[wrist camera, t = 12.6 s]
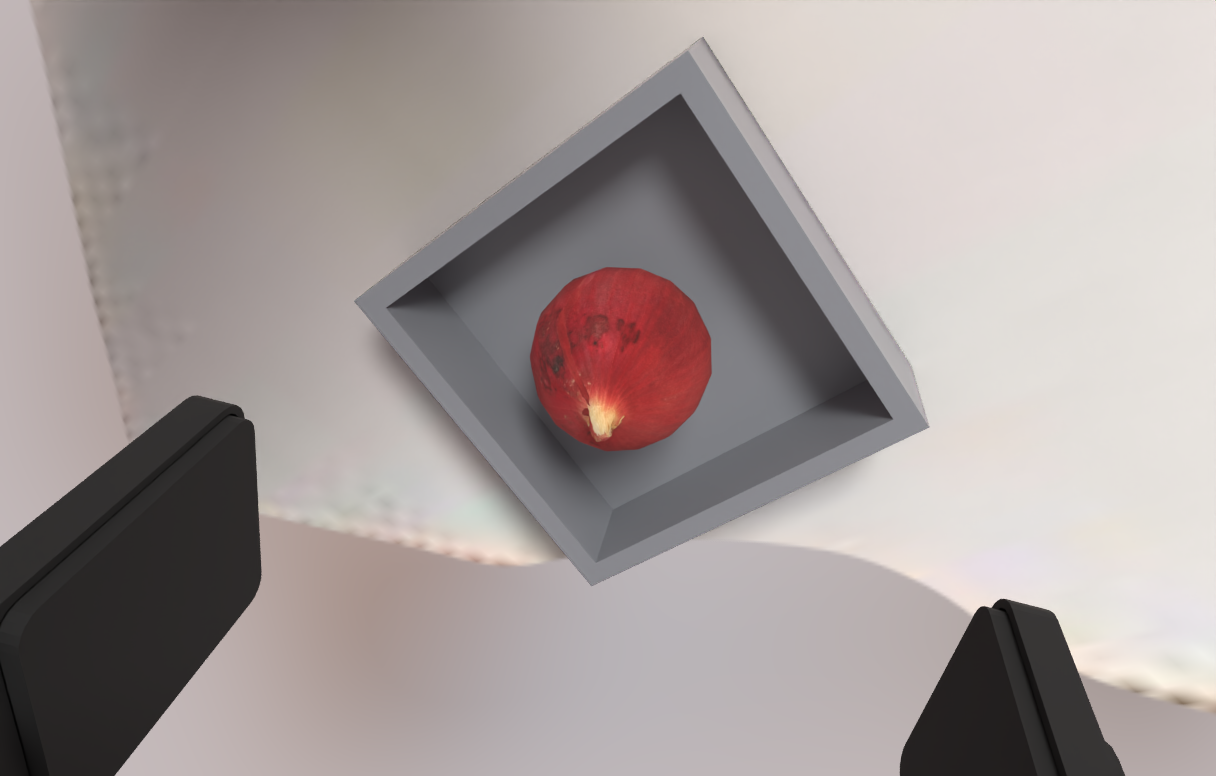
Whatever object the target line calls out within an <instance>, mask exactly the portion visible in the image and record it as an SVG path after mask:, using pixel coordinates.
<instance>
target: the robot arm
mask: <svg viewBox="0 0 1216 776" xmlns="http://www.w3.org/2000/svg"><path fill="white" fill-rule="evenodd" d="M260 581H261V555H260V533H259V512H258V492H257V471H256V450H255V431H254V425H253V423H252V422H251V421H249V420H247V419H245V418H244V413H243V411H242V409H241V408H240V407H238V406H237V405H233V404H229V403H225V402H221V401H217V400H213V399H209V398H205V397H202V396H191V397H189V398H188V399H186V400H184V401H183V402H182V403H181V404H179V405H178V406H177V407H176V408H174V409H173V410H172V411H171V412H169V413H168V414H167V415H166V416H164V417H163V418H162V419H161V420H159V421H158V422H157V423H155V424H154V425H153V426H152V427H150V428H149V429H148V430H147V431H145V432H144V433H143V434H142V435H140V436H139V437H138V438H137V439H135V440H134V441H133V442H132V443H130V444H129V445H128V446H127V447H125V448H124V449H123V450H122V451H120V452H119V453H118V454H116V455H115V456H114V457H113V458H112V459H110V460H109V461H108V462H106V463H105V464H104V465H103V466H101V467H100V468H99V469H98V470H96V471H95V472H94V473H93V474H91V475H90V476H89V477H87V478H86V479H85V480H84V481H83V482H81V483H80V484H79V485H77V486H76V487H75V488H74V489H72V490H71V491H70V492H69V493H67V494H66V495H65V496H64V497H62V498H61V499H60V500H59V501H57V502H56V503H55V504H54V505H52V506H51V507H50V508H49V509H47V510H46V511H45V512H43V513H42V514H41V515H40V516H38V517H37V518H36V519H35V520H33V521H32V522H31V523H30V524H28V525H27V526H26V527H25V528H23V529H22V530H21V531H19V532H18V533H17V534H16V535H14V536H13V537H12V538H11V539H9V540H8V541H7V542H6V543H4V544H3V545H2V546H1V547H0V776H115V774H116V773H117V772H118V771H119V769H120V768H121V767H122V766H123V764H124V763H125V762H126V760H127V759H128V758H129V757H130V755H131V754H132V753H133V752H134V750H135V749H136V748H137V746H138V745H139V744H140V742H141V741H142V740H143V739H144V738H145V736H146V735H147V734H148V732H149V731H150V730H151V729H152V727H153V726H154V725H155V724H156V722H157V721H158V720H159V718H160V717H161V716H162V714H163V713H164V712H165V711H166V710H167V708H168V707H169V706H170V705H171V703H172V702H173V701H174V699H175V698H176V697H177V696H178V694H179V693H180V692H181V691H182V689H183V688H184V687H185V686H186V684H187V683H188V682H189V680H190V679H191V678H192V677H193V675H194V674H195V673H196V671H197V670H198V669H199V668H200V666H201V665H202V664H203V662H204V661H205V660H206V659H207V658H208V656H209V655H210V653H211V652H212V651H213V650H214V649H215V647H216V646H217V645H218V644H219V642H220V641H221V640H222V639H223V637H224V636H225V635H226V633H227V632H228V631H229V630H230V628H231V627H232V626H233V625H234V623H235V622H236V621H237V619H238V618H239V617H240V616H241V614H242V613H243V612H244V610H245V609H246V608H247V607H248V606H249V604H250V603H251V602H252V600H253V598H254V597H255V595H256V592H257V590H258V588H259V585H260ZM900 776H1125V774H1124V772H1123V770H1122V766H1121V764H1120V761H1119V759H1118V757H1117V756H1116V754H1115V752H1114V750H1113V748H1112V747H1111V746H1110V745H1109V744H1108V743H1107V742H1105V740H1104V738H1103V735H1102V733H1101V730H1100V728H1099V725H1098V722H1097V720H1096V717H1095V715H1094V712H1093V710H1092V707H1091V704H1090V702H1089V699H1088V697H1087V694H1086V692H1085V689H1084V686H1083V684H1082V681H1081V679H1080V676H1079V673H1078V671H1077V668H1076V666H1075V663H1074V661H1073V658H1072V655H1071V653H1070V650H1069V648H1068V645H1067V642H1066V640H1065V637H1064V635H1063V632H1062V630H1061V627H1060V624H1059V622H1058V620H1057V618H1056V616H1055V614H1054V613H1053V612H1051V611H1050V610H1047V609H1043V608H1039V607H1035V606H1031V605H1027V604H1023V603H1019V602H1015V601H1011V600H1007V599H1000V600H998V601H997V602H996V603H995V604H994V605H993V607H992V608H989V607H985V606H982V607H980V608H979V609H978V610H977V611H976V613H975V614H974V616H973V618H972V620H971V622H970V624H969V626H968V628H967V629H966V631H965V633H964V635H963V637H962V639H961V641H960V642H959V645H958V646H957V648H956V650H955V652H954V654H953V656H952V658H951V660H950V661H949V663H948V665H947V667H946V669H945V671H944V673H943V675H942V676H941V678H940V680H939V682H938V684H937V686H936V688H935V690H934V691H933V693H932V695H931V697H930V699H929V701H928V703H927V705H926V706H925V709H924V710H923V712H922V714H921V716H920V718H919V720H918V722H917V723H916V725H915V727H914V729H913V731H912V733H911V735H910V737H909V739H908V740H907V742H906V744H905V746H904V749H903V752H902V756H901V762H900Z"/></svg>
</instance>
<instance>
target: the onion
mask: <svg viewBox="0 0 1216 776" xmlns="http://www.w3.org/2000/svg"><path fill="white" fill-rule="evenodd" d="M530 362H531V368H532V373H533V377H534V382H535V386H536V391H537V395H538V397H539V399H540V401H541V403H542V405H543V406H544V408H545V409H546V411H547V412H548V414H549V415H550V417H551V418H552V420H553V421H554V423H555V424H556V425H557V426H558V427H560V428H561V429H562V430H564V431H565V432H566V433H568V434H569V435H571V436H572V437H573V438H575V439H576V440H578V441H579V442H582V443H584V444H587V445H590V446H593V447H595V448H598V449H601V450H604V451H621V450H638V449H641V448H643V447H646V446H648V445H651V444H653V443H655V442H658V441H660V440H663V439H665V438H667V437H669V436H670V435H672V434H673V433H674V432H675V431H676V430H677V429H678V428H679V427H680V426H681V425H682V424H683V423H684V422H685V421H686V420H687V419H688V418H689V417H690V416H691V415H692V414H693V413H694V412H695V410H696V408H697V407H698V405H699V403H700V401H701V398H702V396H703V394H704V391H705V389H706V386H707V384H708V382H709V379H710V377H711V374H712V362H711V337H710V335H709V332H708V330H707V328H706V326H705V324H704V322H703V320H702V318H701V316H700V314H699V312H698V309H697V307H696V305H695V303H694V302H693V301H692V300H691V299H690V298H689V297H688V296H687V295H686V294H685V293H683V292H682V291H681V290H680V289H679V288H678V287H677V286H676V285H675V284H674V283H673V282H671V281H670V280H668V279H665V278H663V277H660V276H658V275H655V274H653V273H651V272H648V271H646V270H643V269H641V268H617V267H605V268H602V269H600V270H597V271H594V272H591V273H589V274H586V275H583V276H581V277H578V278H575V279H573V280H572V281H571V282H569V283H568V284H567V285H565V286H564V287H563V288H562V290H561V291H560V292H559V293H558V294H557V295H556V296H555V298H554V299H553V300H552V301H551V302H550V303H549V304H548V305H547V307H546V308H545V309H544V310H543V311H542V312H541V314H540V317H539V320H538V322H537V325H536V330H535V334H534V339H533V344H532V348H531V353H530Z"/></svg>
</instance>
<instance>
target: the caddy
mask: <svg viewBox="0 0 1216 776" xmlns="http://www.w3.org/2000/svg"><path fill="white" fill-rule="evenodd" d="M605 267H617V268H641V269H643V270H646V271H648V272H651V273H653V274H655V275H658V276H660V277H663V278H665V279H668V280H670V281H671V282H673V283H674V284H675V285H676V286H677V287H678V288H679V289H680V290H681V291H682V292H683V293H685V294H686V295H687V296H688V297H689V298H690V299H691V300H692V301H693V302H694V303H695V305H696V307H697V309H698V312H699V314H700V316H701V318H702V320H703V322H704V324H705V326H706V328H707V330H708V332H709V335H710V337H711V362H712V374H711V377H710V379H709V382H708V384H707V386H706V389H705V391H704V394H703V396H702V398H701V401H700V403H699V405H698V407H697V408H696V410H695V412H694V413H693V414H692V415H691V416H690V417H689V418H688V419H687V420H686V421H685V422H684V423H683V424H682V425H681V426H680V427H679V428H678V429H677V430H676V431H675V432H674V433H673V434H672V435H670V436H669V437H667V438H665V439H663V440H660V441H658V442H655V443H653V444H651V445H648V446H646V447H643V448H641V449H638V450H621V451H604V450H601V449H598V448H595V447H593V446H590V445H587V444H584V443H582V442H579V441H578V440H576V439H575V438H573V437H572V436H571V435H569V434H568V433H566V432H565V431H564V430H562V429H561V428H560V427H558V426H557V425H556V424H555V423H554V421H553V420H552V418H551V417H550V415H549V414H548V412H547V411H546V409H545V408H544V406H543V405H542V403H541V401H540V399H539V397H538V395H537V391H536V386H535V382H534V377H533V373H532V368H531V362H530V353H531V348H532V344H533V339H534V334H535V330H536V325H537V322H538V320H539V317H540V314H541V312H542V311H543V310H544V309H545V308H546V307H547V305H548V304H549V303H550V302H551V301H552V300H553V299H554V298H555V296H556V295H557V294H558V293H559V292H560V291H561V290H562V288H563V287H564V286H565V285H567V284H568V283H569V282H571V281H572V280H573V279H575V278H578V277H581V276H583V275H586V274H589V273H591V272H594V271H597V270H600V269H602V268H605ZM354 302H355V303H356V304H357V305H358V306H359V308H360V309H361V310H362V311H363V312H364V314H365V315H366V316H367V317H368V318H369V320H370V321H371V322H372V323H373V324H374V326H375V327H376V328H377V329H378V330H379V332H380V333H381V334H382V335H383V336H384V338H385V339H386V340H387V341H388V342H389V344H390V345H391V346H392V347H393V348H394V350H395V351H396V352H397V353H398V354H399V356H400V357H401V358H402V359H403V360H404V362H405V363H406V364H407V365H408V366H409V368H410V369H411V370H412V371H413V372H414V374H415V375H416V376H417V377H418V378H419V380H420V381H421V382H422V383H423V384H424V386H425V387H426V388H427V389H428V390H429V392H430V393H431V394H432V395H433V396H434V398H435V399H436V400H437V401H438V402H439V404H440V405H441V406H442V407H443V408H444V410H445V411H446V412H447V413H448V414H449V416H450V417H451V418H452V419H453V420H454V422H455V423H456V424H457V425H458V426H459V428H460V429H461V430H462V431H463V432H464V434H465V435H466V436H467V437H468V438H469V440H470V441H471V442H472V443H473V444H474V446H475V447H476V448H477V449H478V450H479V452H480V453H481V454H482V455H483V456H484V458H485V459H486V460H487V461H488V462H489V464H490V465H491V466H492V467H493V468H494V470H495V471H496V472H497V473H498V474H499V476H500V477H501V478H502V479H503V480H504V482H505V483H506V484H507V485H508V486H509V488H510V489H511V490H512V491H513V492H514V494H515V495H516V496H517V497H518V498H519V500H520V501H521V502H522V503H523V504H524V506H525V507H526V508H527V509H528V510H529V512H530V513H531V514H532V515H533V516H534V518H535V519H536V520H537V521H538V522H539V524H540V525H541V526H542V527H543V528H544V530H545V531H546V532H547V533H548V534H549V536H550V537H551V538H552V539H553V540H554V542H555V543H556V544H557V545H558V546H559V548H560V549H561V550H562V551H563V552H564V554H565V555H566V556H567V557H568V559H569V560H570V561H571V562H572V563H573V565H574V566H575V567H576V568H577V569H578V571H579V572H580V573H581V574H582V575H583V577H584V578H585V579H586V580H587V581H588V582H589V584H590V585H591V586H593V585H595V584H597V583H599V582H601V581H604V580H606V579H608V578H610V577H612V576H614V575H616V574H618V573H621V572H623V571H625V570H627V569H629V568H631V567H633V566H635V565H638V564H640V563H642V562H644V561H646V560H648V559H650V558H652V557H655V556H657V555H659V554H660V553H663V552H665V551H667V550H669V549H672V548H674V547H676V546H678V545H680V544H682V543H684V542H687V541H689V540H691V539H693V538H695V537H697V536H699V535H701V534H704V533H706V532H708V531H710V530H712V529H714V528H716V527H718V526H721V525H723V524H725V523H727V522H729V521H731V520H733V519H735V518H738V517H740V516H742V515H744V514H746V513H748V512H750V511H752V510H755V509H757V508H759V507H761V506H763V505H765V504H767V503H769V502H772V501H774V500H776V499H778V498H780V497H782V496H784V495H786V494H789V493H791V492H793V491H795V490H797V489H799V488H801V487H803V486H806V485H808V484H810V483H812V482H814V481H816V480H818V479H821V478H823V477H825V476H827V475H829V474H831V473H833V472H835V471H838V470H840V469H842V468H844V467H846V466H848V465H850V464H852V463H855V462H857V461H859V460H861V459H863V458H865V457H867V456H869V455H872V454H874V453H876V452H878V451H880V450H882V449H884V448H886V447H889V446H891V445H893V444H895V443H897V442H899V441H901V440H903V439H906V438H908V437H910V436H912V435H914V434H916V433H918V432H920V431H923V430H925V429H927V428H929V424H928V421H927V417H926V414H925V410H924V407H923V403H922V400H921V397H920V393H919V390H918V386H917V383H916V380H915V376H914V373H913V369H912V366H911V365H910V363H909V362H908V360H907V359H906V357H905V355H904V354H903V352H902V351H901V349H900V347H899V346H898V344H897V343H896V341H895V340H894V338H893V336H892V335H891V333H890V332H889V330H888V328H887V327H886V325H885V324H884V322H883V321H882V319H881V317H880V316H879V314H878V313H877V311H876V309H875V308H874V306H873V305H872V303H871V302H870V300H869V298H868V297H867V295H866V294H865V292H864V290H863V289H862V287H861V286H860V284H859V283H858V281H857V279H856V278H855V276H854V275H853V273H852V271H851V270H850V268H849V267H848V265H847V264H846V262H845V260H844V259H843V257H842V256H841V254H840V253H839V251H838V249H837V248H836V246H835V245H834V243H833V241H832V240H831V238H830V237H829V235H828V234H827V232H826V230H825V229H824V227H823V226H822V224H821V222H820V221H819V219H818V218H817V216H816V215H815V213H814V211H813V210H812V208H811V207H810V205H809V203H808V202H807V200H806V199H805V197H804V196H803V194H802V192H801V191H800V189H799V188H798V186H797V184H796V183H795V181H794V180H793V178H792V177H791V175H790V173H789V172H788V170H787V169H786V167H785V165H784V164H783V162H782V161H781V159H780V158H779V156H778V154H777V153H776V151H775V150H774V148H773V147H772V145H771V143H770V142H769V140H768V139H767V137H766V135H765V134H764V132H763V131H762V129H761V128H760V126H759V124H758V123H757V121H756V120H755V118H754V116H753V115H752V113H751V112H750V110H749V109H748V107H747V105H746V104H745V102H744V101H743V99H742V97H741V96H740V94H739V93H738V91H737V90H736V88H735V86H734V85H733V83H732V82H731V80H730V78H729V77H728V75H727V74H726V72H725V71H724V69H723V67H722V66H721V64H720V63H719V61H718V59H717V58H716V56H715V55H714V53H713V52H712V50H711V48H710V47H709V45H708V44H707V42H706V41H705V39H704V37H702V38H701V39H699V40H698V41H697V42H695V43H694V44H693V45H691V46H690V47H689V48H687V49H686V50H685V51H683V52H682V53H681V54H679V55H678V56H677V57H675V58H674V59H673V60H671V61H670V62H669V63H667V64H666V65H665V66H663V67H662V68H661V69H659V70H658V71H657V72H655V73H654V74H653V75H651V76H650V77H649V78H647V79H646V80H645V81H643V82H642V83H641V84H639V85H638V86H637V87H635V88H634V89H633V90H631V91H630V92H629V93H627V94H626V95H625V96H623V97H622V98H621V99H619V100H618V101H617V102H615V103H614V104H613V105H611V106H610V107H609V108H607V109H606V110H605V111H603V112H602V113H601V114H599V115H598V116H597V117H595V118H594V119H593V120H591V121H590V122H589V123H587V124H586V125H585V126H583V127H582V128H581V129H579V130H578V131H577V132H575V133H574V134H573V135H571V136H570V137H569V138H567V139H566V140H565V141H564V142H562V143H561V144H560V145H558V146H557V147H556V148H554V149H553V150H552V151H550V152H549V153H548V154H546V155H545V156H544V157H542V158H541V159H540V160H538V161H537V162H536V163H534V164H533V165H532V166H530V167H529V168H528V169H526V170H525V171H524V172H522V173H521V174H520V175H518V176H517V177H516V178H514V179H513V180H512V181H510V182H509V183H508V184H506V185H505V186H504V187H502V188H501V189H500V190H498V191H497V192H496V193H494V194H493V195H492V196H490V197H489V198H488V199H486V200H485V201H484V202H482V203H481V204H480V205H478V206H477V207H476V208H474V209H473V210H472V211H470V212H469V213H468V214H466V215H465V216H464V217H462V218H461V219H460V220H458V221H457V222H456V223H454V224H453V225H452V226H450V227H449V228H448V229H446V230H445V231H444V232H442V233H441V234H440V235H438V236H437V237H436V238H434V239H433V240H432V241H430V242H429V243H428V244H426V245H425V246H424V247H423V248H421V249H420V250H419V251H417V252H416V253H415V254H413V255H412V256H411V257H409V258H408V259H407V260H405V261H404V262H403V263H401V264H400V265H399V266H398V267H396V268H395V269H394V270H393V271H391V272H390V273H389V274H388V275H386V276H385V277H384V278H383V279H381V280H380V281H379V282H377V283H376V284H375V285H374V286H372V287H371V288H370V289H369V290H367V291H366V292H365V293H364V294H362V295H361V296H360V297H358V298H357V299H356V300H355V301H354Z"/></svg>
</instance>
